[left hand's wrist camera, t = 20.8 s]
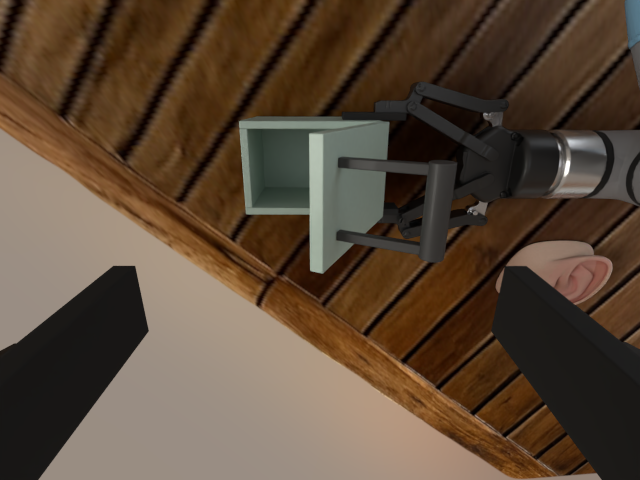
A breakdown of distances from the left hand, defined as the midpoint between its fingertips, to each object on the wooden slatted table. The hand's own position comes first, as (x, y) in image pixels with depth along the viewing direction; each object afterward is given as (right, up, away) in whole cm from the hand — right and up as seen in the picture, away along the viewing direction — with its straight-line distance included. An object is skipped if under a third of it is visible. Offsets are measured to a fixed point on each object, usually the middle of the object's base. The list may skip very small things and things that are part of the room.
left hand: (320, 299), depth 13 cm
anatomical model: (+33, -3, +40) cm, 52 cm away
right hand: (+2, +11, +27) cm, 29 cm away
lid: (+2, +7, +17) cm, 19 cm away
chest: (-1, +13, +34) cm, 36 cm away
